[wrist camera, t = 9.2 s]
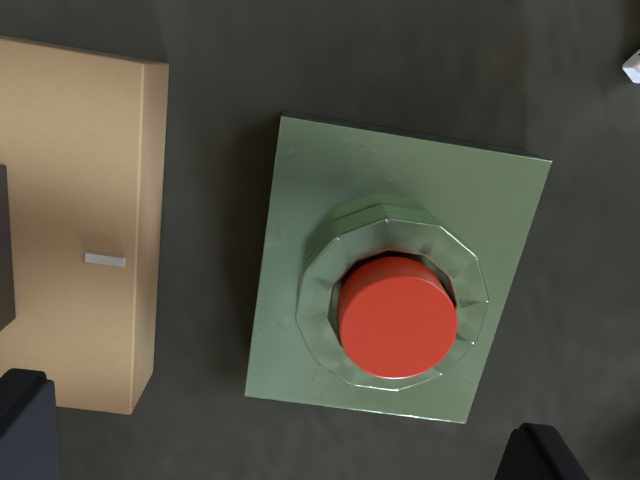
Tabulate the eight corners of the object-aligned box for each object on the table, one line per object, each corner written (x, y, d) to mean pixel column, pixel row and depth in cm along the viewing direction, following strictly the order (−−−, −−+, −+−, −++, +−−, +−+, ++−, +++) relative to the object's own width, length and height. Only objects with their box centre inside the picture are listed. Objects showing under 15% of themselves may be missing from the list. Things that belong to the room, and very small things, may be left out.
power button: (429, 358, 18) (441, 386, 17) (328, 344, 18) (330, 372, 17) (456, 264, 17) (471, 285, 16) (347, 247, 17) (351, 267, 15)
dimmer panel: (153, 372, 23) (129, 418, 20) (-89, 342, 22) (-151, 385, 19) (170, 63, 18) (141, 62, 15) (-137, 11, 17) (-231, -1, 14)
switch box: (452, 392, 23) (479, 454, 20) (249, 366, 23) (237, 426, 19) (527, 150, 19) (579, 170, 16) (284, 110, 19) (277, 121, 15)
